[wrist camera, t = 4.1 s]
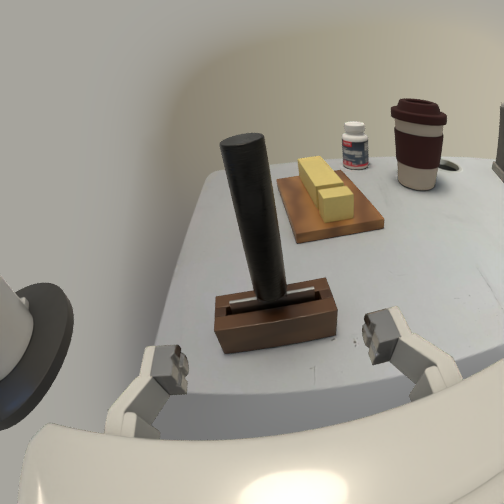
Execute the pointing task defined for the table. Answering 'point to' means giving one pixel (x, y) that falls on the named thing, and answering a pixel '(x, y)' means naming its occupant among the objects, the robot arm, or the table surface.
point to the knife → (258, 224)
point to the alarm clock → (500, 148)
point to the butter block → (317, 176)
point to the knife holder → (276, 320)
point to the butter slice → (336, 204)
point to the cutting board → (310, 221)
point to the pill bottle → (355, 146)
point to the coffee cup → (418, 142)
